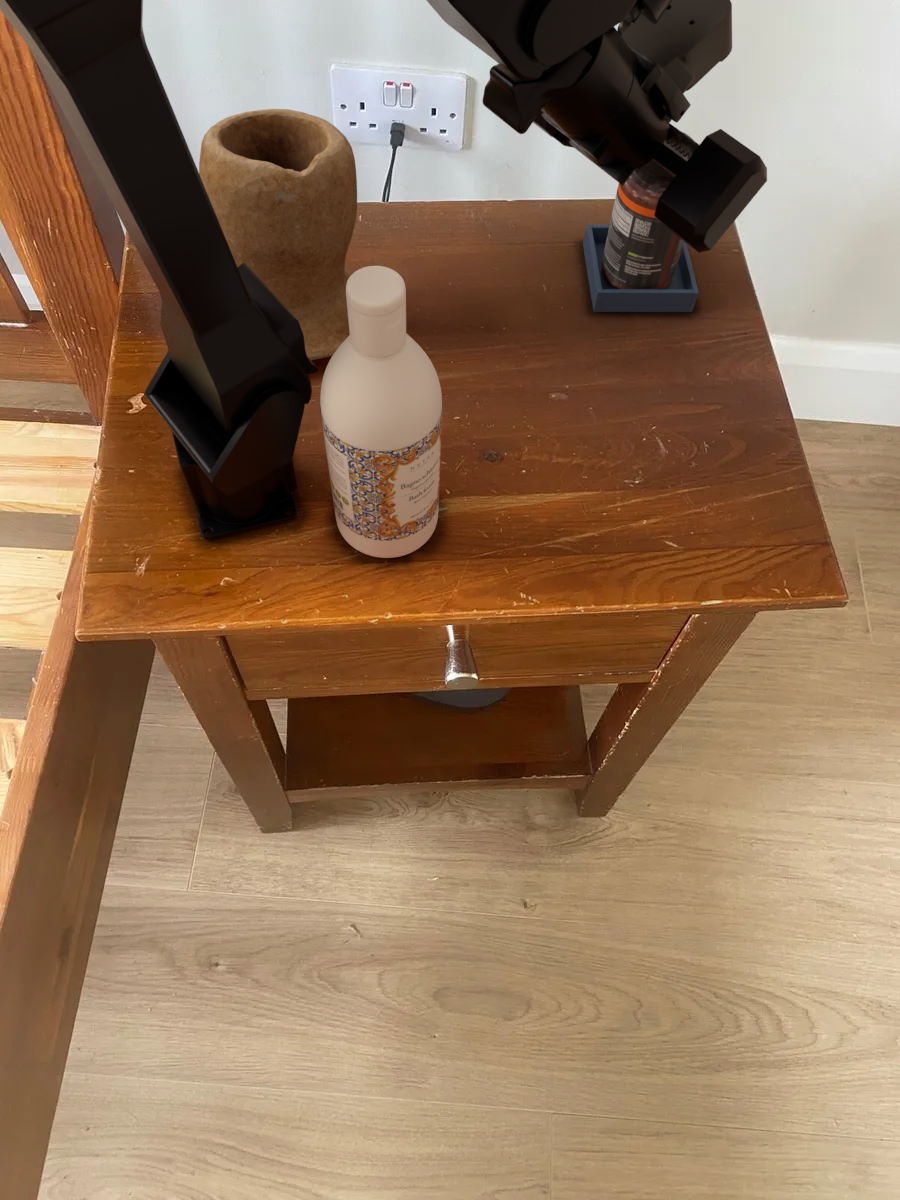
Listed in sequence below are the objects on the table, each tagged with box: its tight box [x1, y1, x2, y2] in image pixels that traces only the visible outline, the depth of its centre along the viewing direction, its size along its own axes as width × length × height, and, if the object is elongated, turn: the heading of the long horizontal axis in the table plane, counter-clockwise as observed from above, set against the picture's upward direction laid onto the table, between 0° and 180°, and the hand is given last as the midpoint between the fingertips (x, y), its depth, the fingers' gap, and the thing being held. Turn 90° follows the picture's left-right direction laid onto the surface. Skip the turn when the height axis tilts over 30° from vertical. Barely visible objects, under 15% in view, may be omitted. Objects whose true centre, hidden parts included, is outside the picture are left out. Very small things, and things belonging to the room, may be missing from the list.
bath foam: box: [319, 265, 444, 559], centre depth 52 cm, size 7×7×20 cm
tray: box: [582, 224, 699, 313], centre depth 72 cm, size 8×8×2 cm
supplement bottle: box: [602, 131, 694, 289], centre depth 67 cm, size 6×6×11 cm
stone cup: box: [198, 108, 358, 361], centre depth 62 cm, size 15×12×15 cm
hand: (673, 182), depth 66 cm, fingers open, 9 cm apart
